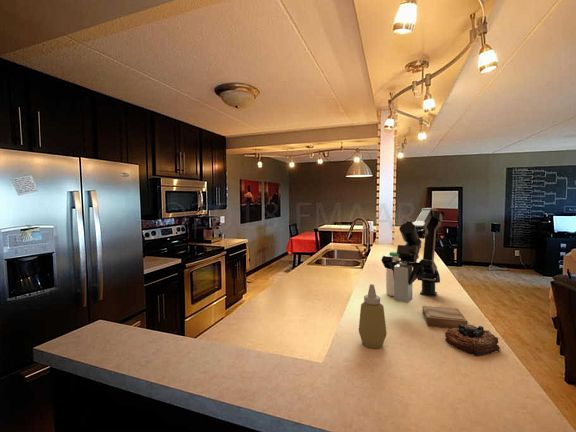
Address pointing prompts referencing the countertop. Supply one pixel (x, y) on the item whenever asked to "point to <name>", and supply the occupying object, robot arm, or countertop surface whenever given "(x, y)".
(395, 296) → the housing
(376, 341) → the squeeze bottle
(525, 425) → the countertop surface
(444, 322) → the stand
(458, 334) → the pastry
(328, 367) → the countertop surface
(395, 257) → the milk bottle
